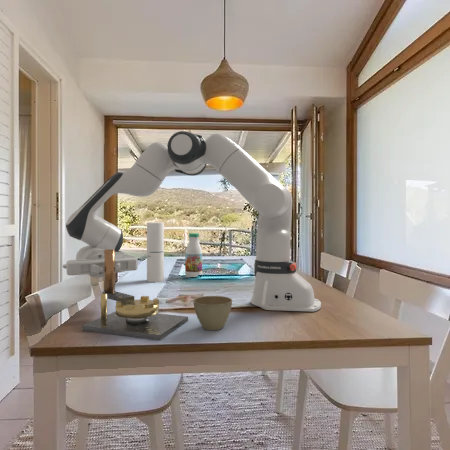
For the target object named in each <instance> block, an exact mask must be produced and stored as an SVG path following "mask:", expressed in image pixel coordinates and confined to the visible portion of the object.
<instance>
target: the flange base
mask: <svg viewBox="0 0 450 450" xmlns="http://www.w3.org/2000/svg"><path fill="white" fill-rule="evenodd" d="M187 322H189V316H186V315H179V314H177V315H176V314H169V313H167V314H166V313H157V314H156V315H153V316H149V317H144V318H123V317H119V316H117V315H116V310H115V311H114V312H113V311H112V312H111V313H108V298H107V294H106V293H103V294H102V293H101V294H100V318H99V317H98V318H97V319H95V320H93V321H90V322H88V323H85V324H83V325H82V331H84V332H93V333H99V334H100V333H101V334H109V335H117V336H123V337H131V338H139V339H141V338H142V339H148V340H154V341H155V340H156V341H161V340H162V339H165V337H167V336H168V335H170V334H172V333H173V332H174V331H176V330H177V329H179V328H180V327H182V326H183V325H184V324H186V323H187Z"/></svg>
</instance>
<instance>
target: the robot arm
mask: <svg viewBox="0 0 450 450" xmlns="http://www.w3.org/2000/svg"><path fill="white" fill-rule="evenodd" d="M207 165H209V166H211V167H212V168H214V169H215V170H216V171H217V172H218V173H219V174H220V175H221V176H222V177H223V178H224V179H225V180H226V181H228V183H229V184H230V185H231V186H232V187H234V188H235V189H236V191H238V192H239V194H240V195H241V196H242V197H243V198H244V199H245V200H246V201H247V203H248V204H249V205H251V207H252V208H253V209H254V210H255V211H256V212H257V213H258V221H257V232H256V238H255V240H256V241H255V242H256V246H255V247H256V249H255V257H256V258H255V260H254V264H253V265H254V266H253V267H254V268H253V274H254V284H253V285H254V287H253V292H252V296H251V298H250V299H251V300H250V303H251V304H252V305H254V306H256V307H259V308H261V309H263V310H266V311H288V312H317V311H319V310H320V309H321V308H322V302H321V301H320V300H319V299H318V298H315V293H314V289H313V287H312V285H311V283H310V282H308V281H307V280H306V279H305V278H304V277H302V276H301V275H300V274H298V273H297V262H294V261H293V260H291V235H292V233H291V232H292V217H293V216H292V214H293V212H292V211H293V197H292V194H291V192H290V191H289V190H288V188H286V187H284V185H282V184H281V183H280V182H279V181H278V180H277V179H276V178H275V177H273V175H272V174H270V173H269V172H268V171H267V170H266V169H265V168H264V167H263V166H262V165H261V164H259V162H257V161H256V160H255V159H254V158H253V157H252V156H251V155H250V154H249V153H248V152H247V151H246V150H245V149H243V148H242V147H241V146H240V145H239V144H237V143H236V142H235V141H233V140H232V139H230V138H229V137H227V136H226V135H224V134H223V133H213V134H212V135H210V136H208V137H207V138H206V139H205V138H204V136H203V135H200V134H198V133H197V134H195V133H192V132H190V131H186V130H185V131H184V130H181V131H178V132H175V133H173V134H172V135H171V136H170V138H169V139H168V142H167V144H165V143H162V142H157V141H156V142H152V143H151V144H150V145H149V146H147V148H146V149H145V150H144V151H143V152H142V153H141V154H140V156H139V157H138V158H137V160H135V162H134V164H133V165H132V166H131V167H130V168H129V169H128V170H126V171H124V172H122V171H121V172H120V171H118V172H116V173H114V174H113V175H111V177H109V178H108V179H107V180H106V181H105V182H104V183H103V184H102V185H101V186H100V187H99V188H98V189H97V190H96V191H95V192H94V193H93V194H92V195H91V196H90V197H89V198H88V199H87V200H86V201H85V202H84V203H83V204H82V205H81V206H79V208H78V209H76V210H75V211H74V212H73V213H71V215H70V216H69V217H68V218H67V220H66V223H65V228H66V231H67V234H68V236H69V237H71V238H72V239H75V240H78V241H82V242H83V243H84V244H87V245H86V246H83V247H81V248H80V249H79V250H77V253H76V255H75V259H70V260H67V261H66V264H62V268H63V269H66V275H68V276H81V275H88V276H89V277H92V278H95V279H97V278H100V279H101V278H103V277H104V250H105V249H115V274H116V273H117V274H118V273H125V272H133V271H137V270H138V268H139V267H138V265H139V264H138V262H139V261H138V258H137V257H135V256H133V255H131V254H127V253H126V251H120V250H121V247H122V246H123V243H124V234H123V231H122V228H120V227H119V226H116V225H115V224H113V223H111V222H109V221H107V220H106V219H104V218H102V217H100V216H99V215H97V214H96V212H97V211H98V210H99V209H100V208H101V207H102V206H103V204H104V203H105V202H107V200H108V199H109V198H111V197H112V196H113V195H116V194H125V195H130V196H134V197H140V198H141V197H148V196H151V195H153V194H154V193H155V192H156V191H157V190H158V189H159V188H160V187H161V185H162V184H163V181H164V180H165V179H166V177H167V176H168V174H169V173H170V172H172V171H173V170H174V172H176V173H180V174H183V175H187V176H198V175H201V174H202V173H203V172H204V171H205V169H206V168H207ZM104 278H105V277H104Z"/></svg>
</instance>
